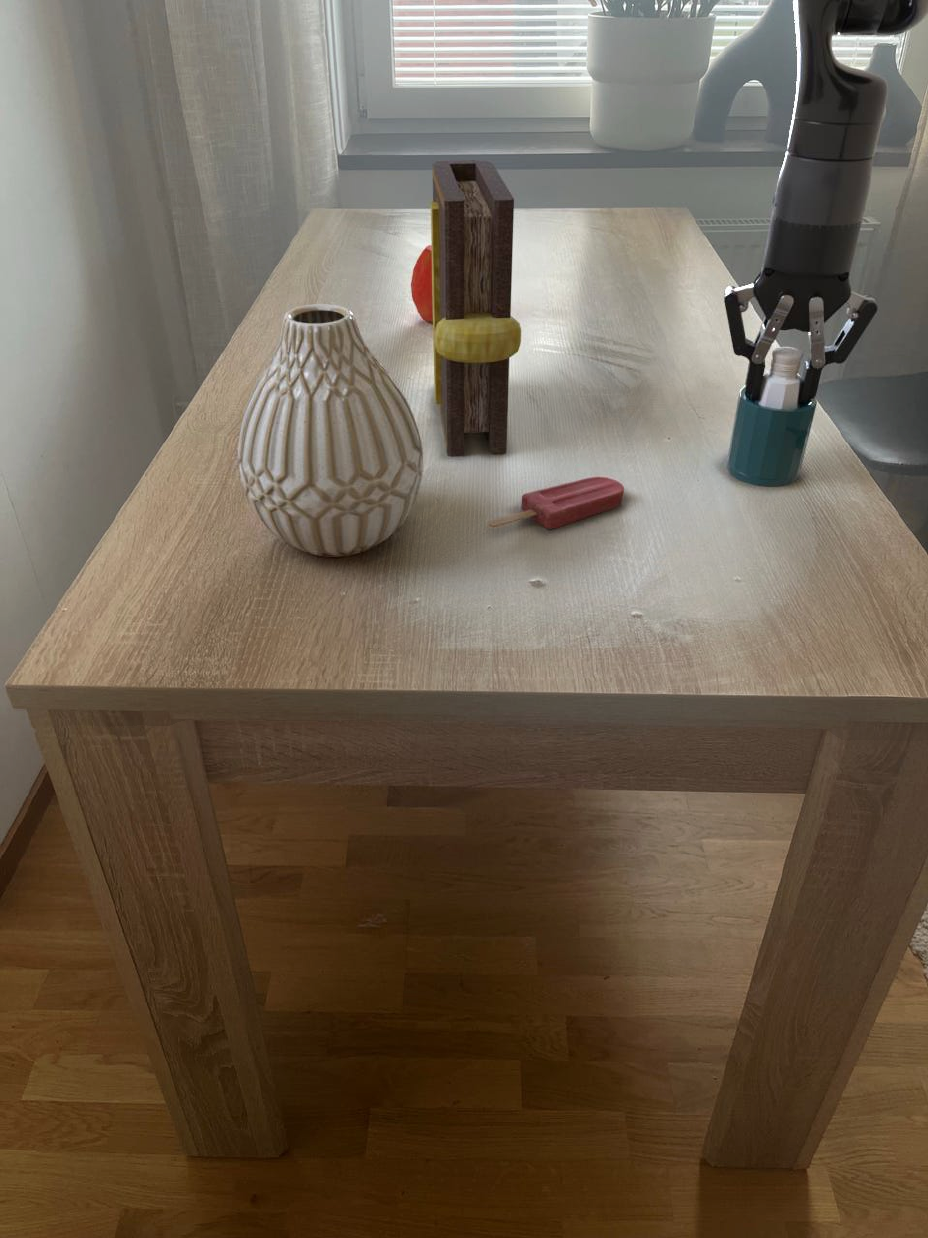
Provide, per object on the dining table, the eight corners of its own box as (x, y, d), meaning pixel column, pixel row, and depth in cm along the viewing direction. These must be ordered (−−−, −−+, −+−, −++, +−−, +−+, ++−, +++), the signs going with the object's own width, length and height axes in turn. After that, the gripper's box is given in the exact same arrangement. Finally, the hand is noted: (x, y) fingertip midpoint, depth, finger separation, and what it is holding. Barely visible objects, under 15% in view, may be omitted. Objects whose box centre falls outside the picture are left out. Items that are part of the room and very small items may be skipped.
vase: (322, 477, 93) (301, 274, 81) (457, 517, 87) (456, 302, 75) (212, 549, 82) (170, 325, 70) (358, 600, 75) (339, 363, 64)
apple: (467, 309, 136) (468, 233, 130) (469, 327, 130) (470, 248, 124) (412, 309, 136) (409, 233, 130) (411, 328, 130) (408, 248, 123)
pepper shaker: (788, 446, 95) (811, 341, 89) (798, 470, 91) (823, 361, 85) (735, 444, 96) (754, 339, 89) (742, 467, 92) (763, 359, 85)
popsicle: (476, 506, 85) (604, 470, 91) (475, 523, 86) (603, 486, 92) (503, 527, 81) (634, 488, 88) (502, 544, 82) (632, 504, 89)
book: (426, 386, 112) (420, 160, 98) (495, 383, 113) (500, 159, 98) (438, 468, 95) (434, 208, 80) (520, 465, 95) (531, 206, 81)
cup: (807, 465, 95) (825, 391, 91) (786, 493, 91) (804, 416, 86) (740, 448, 99) (754, 376, 94) (716, 474, 94) (729, 400, 89)
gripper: (733, 216, 78) (703, 408, 88) (911, 225, 76) (859, 421, 86) (733, 198, 84) (704, 379, 94) (897, 206, 82) (850, 391, 92)
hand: (778, 398), depth 90 cm, fingers closed on pepper shaker, 4 cm apart
